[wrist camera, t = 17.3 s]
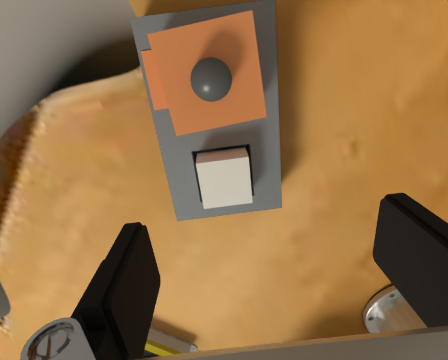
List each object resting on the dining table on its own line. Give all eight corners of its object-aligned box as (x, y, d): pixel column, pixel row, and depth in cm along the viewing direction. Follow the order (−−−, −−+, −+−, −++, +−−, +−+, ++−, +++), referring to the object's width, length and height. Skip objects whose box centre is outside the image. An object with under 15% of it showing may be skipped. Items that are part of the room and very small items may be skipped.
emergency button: (167, 399, 45) (84, 370, 41) (171, 371, 49) (95, 343, 45) (198, 371, 43) (112, 337, 38) (199, 344, 47) (121, 311, 42)
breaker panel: (265, 6, 25) (275, -2, 22) (274, 191, 34) (282, 208, 30) (141, 23, 25) (129, 18, 22) (180, 203, 34) (177, 221, 30)
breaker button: (244, 147, 28) (248, 156, 25) (248, 189, 30) (252, 202, 27) (197, 153, 28) (195, 163, 25) (204, 195, 30) (203, 209, 27)
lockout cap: (243, 19, 22) (255, 5, 16) (256, 106, 25) (270, 121, 19) (159, 38, 22) (142, 32, 17) (182, 122, 25) (174, 141, 20)
